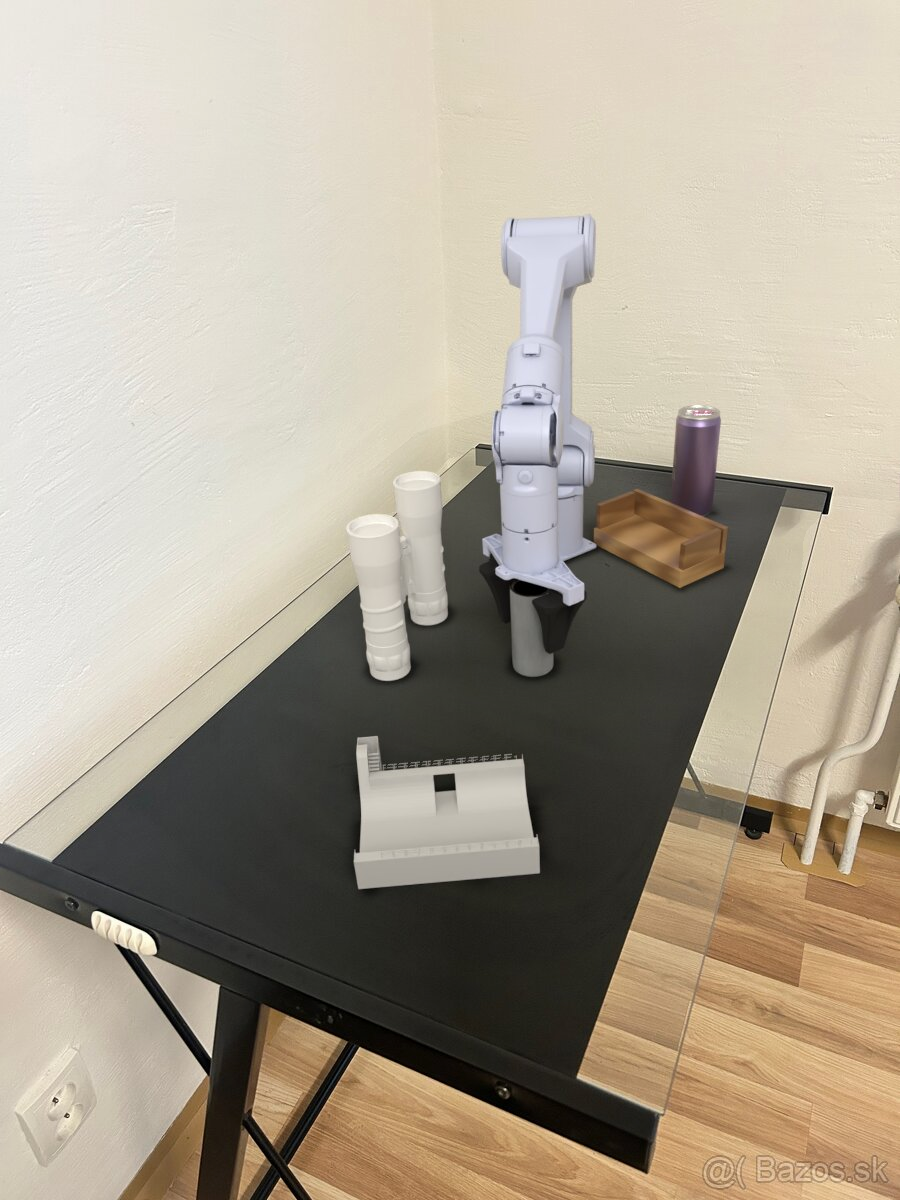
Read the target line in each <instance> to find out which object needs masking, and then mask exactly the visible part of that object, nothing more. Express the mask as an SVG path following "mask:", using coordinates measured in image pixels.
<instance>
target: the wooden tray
mask: <svg viewBox="0 0 900 1200" xmlns="http://www.w3.org/2000/svg"><path fill="white" fill-rule="evenodd" d="M670 502H671V501H667V500H665V499H663V498H660V497H659V496H655V495H654V494H652V493H649V492H646V491H644V490H642V489H639V488H636V489H633V491H632V490H631V491H628V492H625V493H623V494H620V495H617V496H615V497H612V498H609V499H607V500H604V501H601V502H599V503H596V508H595V515H596V516H595V527H594V528H593V543H595V544H596V545H597V547H599V548H601V549H603V550H605V551H607V552H609V553H611V554H613V556H614V555H615V556H617V557H618V558H620V559H623V560H624V561H626V562H628V563H630V564H632V565H633V566H636V567H638V568H640V569H642V570H644V571H646V572H648V573H649V574H652V575H653V576H655V577H657V578H659V579H660V580H663V581H665V582H666V583H669V584H671V585H673V586H675V587H676V588H679V589H681V588H683V587H686V586H687V585H690V584H692V583H694V582H696V581H698V580H701V579H703V578H705V577H708V576H710V575H711V574H714V573H716V572H718V571H720V570H723V569H724V567H725V557H726V552H727V551H726V549H727V539H728V530H729V526H726V525H724V524H723V523H719V522H717V521H715V520H713V519H711V518H708V517H706V516H704V517H703V516H701V515H698V514H696V513H694V512H691V511H689V510H687V509H684V508H682V507H679V506H677V505H675V504H672V503H670Z"/></svg>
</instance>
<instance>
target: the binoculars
mask: <svg viewBox="0 0 900 1200" xmlns="http://www.w3.org/2000/svg"><path fill="white" fill-rule="evenodd" d="M441 480H442V478H441V476H440V475H439V474H437V473H436V472H433V471H429V470H412V471H407V472H404V473H401V474H398V475H397V476H396V477H395V478H394V479H393V480H392V486H393V493H394V503H395V512H396V516H397V518H396V517H394V516H392V515H389V514H386V513H371V514H364V515H360V516H358V517H355V518H354V519H352V520H350V521H349V522H348V523H347V524H346V527H345V531H346V534H347V541H348V549H349V554H350V555H349V557H350V561H351V564H352V567H353V571H354V575H355V577H356V581H357V583H358V590H359V596H360V597H359V598H360V603H359V606H360V609H361V610H362V618H363V623H362V627H363V629H364V634H365V642H366V651H365V654H366V661H367V663H368V666H369V673H370V675H371V676H372V677H373V678H374V679H376V680H379V681H383V682H384V681H385V682H391V681H396V680H397V681H398V680H399V679H403V678H404V677H405V676H407V675H408V674H409V673H410V671H411V668H412V666H411V647H410V643H409V639H408V632H407V625H406V619H405V618H406V617H405V616H406V615H405V609H404V608H405V607H404V606H405V605H404V604H405V603H406V601H407V605H408V609H409V614H410V619H411V621H412V622H413V623H414V624H417V625H419V626H434V625H438V624H440V623H443V622H444V621H445V620H446V619H447V618H448V615H449V611H448V606H449V600H448V591H447V587H446V586H447V583H446V580H445V579H446V578H445V570H446V565H445V563H444V554H443V552H445V551H444V549H445V548H444V546H443V542H442V530H441V529H442V520H443V519H442V518H443V516H442V515H443V497H442V495H443V494H442V481H441ZM400 530H401V531H400ZM400 532H401V534H402V535H401V534H400Z"/></svg>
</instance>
